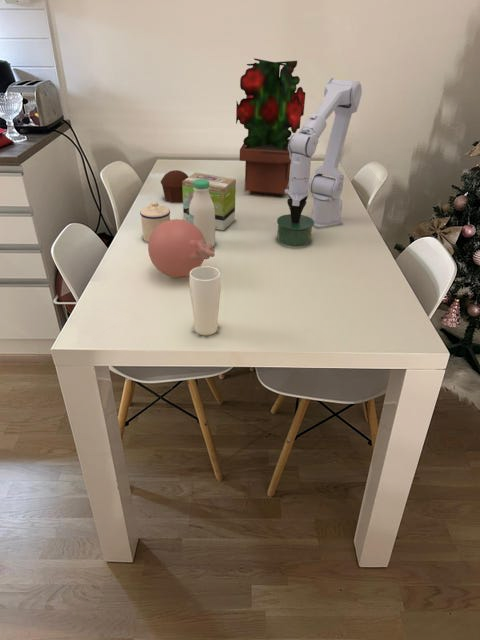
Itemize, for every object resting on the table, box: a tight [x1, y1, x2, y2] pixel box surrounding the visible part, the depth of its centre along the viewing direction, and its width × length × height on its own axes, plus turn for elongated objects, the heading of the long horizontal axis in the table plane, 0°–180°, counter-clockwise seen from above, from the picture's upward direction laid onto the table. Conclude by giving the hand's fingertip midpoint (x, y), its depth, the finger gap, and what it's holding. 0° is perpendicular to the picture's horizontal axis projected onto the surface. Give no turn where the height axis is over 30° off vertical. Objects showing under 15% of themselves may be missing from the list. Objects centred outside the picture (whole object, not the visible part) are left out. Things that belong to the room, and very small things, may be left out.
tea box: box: [182, 172, 237, 232], centre depth 162 cm, size 15×10×15 cm
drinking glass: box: [188, 265, 222, 336], centre depth 110 cm, size 7×7×15 cm
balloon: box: [147, 218, 215, 278], centre depth 130 cm, size 15×20×15 cm
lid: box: [276, 213, 315, 230], centre depth 151 cm, size 11×11×4 cm
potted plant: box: [235, 58, 306, 198], centre depth 180 cm, size 22×22×45 cm
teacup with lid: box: [139, 201, 171, 243], centre depth 152 cm, size 12×9×12 cm
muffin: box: [160, 169, 189, 204], centre depth 181 cm, size 12×11×10 cm
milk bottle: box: [189, 179, 216, 248], centre depth 145 cm, size 8×8×20 cm
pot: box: [276, 224, 313, 248], centre depth 153 cm, size 10×10×6 cm
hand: (295, 220), depth 151 cm, fingers closed on lid, 2 cm apart
